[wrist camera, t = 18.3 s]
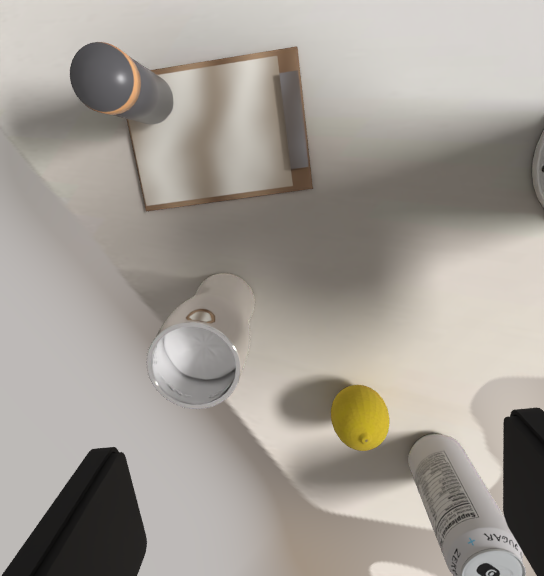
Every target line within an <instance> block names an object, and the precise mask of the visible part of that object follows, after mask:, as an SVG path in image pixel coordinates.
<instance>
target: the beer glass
mask: <svg viewBox="0 0 544 576" xmlns="http://www.w3.org/2000/svg"><path fill="white" fill-rule="evenodd" d="M254 308H255V298H254V294H253V292H252V290H251V288H250V286H249V285H248V284H247V283H246V282H245V281H244V280H243V279H241V278H240V277H238V276H236V275H233V274H229V273H219V274H215V275H212V276H210V277H208V278H207V279H205V280H204V281H203V282H202V283H201V284H200V286H199V287H198V289H197V292H196V295H195V296H193V297H191V298H190V299H188V300H186V301H185V302H183V303H182V304H181V305H179V306H178V307H177V308H176V309H175V310H174V311H173V312H172V313H171V314H170V315H169V317H168V318H167V319H166V321H165V322H164V324H163V325H162V327H161V329H160V331H159V332H158V334H157V336H156V338H155V339H154V340H153V342H152V344H151V346H150V348H149V351H148V355H147V370H148V374H149V377H150V380H151V382H152V384H153V385H154V387H155V388H156V390H157V391H158V392H159V393H160V394H161V395H162V396H163V397H164V398H166V399H167V400H169V401H170V402H172V403H174V404H176V405H179V406H182V407H185V408H192V409H203V408H209V407H212V406H215V405H217V404H219V403H221V402H223V401H224V400H225V399H227V398H228V397H229V396H230V395H231V394H232V392H233V391H234V390H235V388H236V386H237V384H238V382H239V378H240V376H241V373H242V371H243V369H244V366H245V363H246V360H247V357H248V353H249V347H250V327H249V320H250V318H251V316H252V314H253V312H254Z"/></svg>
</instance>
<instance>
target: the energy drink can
mask: <svg viewBox="0 0 544 576" xmlns="http://www.w3.org/2000/svg"><path fill="white" fill-rule="evenodd" d="M408 464H409V468H410V470H411V473H412V475H413V478H414V481H415V483H416V486H417V488H418V491H419V494H420V496H421V499H422V501H423V504H424V507H425V509H426V512H427V514H428V517H429V519H430V522H431V525H432V527H433V530H434V532H435V535H436V538H437V540H438V543H439V545H440V548H441V551H442V553H443V556H444V558H445V561H446V564H447V566H448V568H449V570H450V572H451V573H452V574H453V576H525V574H526V572H525V567H524V565H523V563H522V561H523V552H522V550H521V548H520V546H519V545H518V543H517V541H516V540H515V538H514V536H513V534H512V533H511V531H510V529H509V528H508V526H507V523H506V520H505V517H504V515H503V514H502V513H501V511H500V509H499V507H498V505H497V504H496V502H495V501H494V499H493V497H492V495H491V494H490V492H489V490H488V489H487V487H486V485H485V484H484V482H483V480H482V479H481V477H480V475H479V474H478V472H477V470H476V469H475V467H474V465H473V464H472V462H471V460H470V459H469V457H468V456H467V454H466V452H465V451H464V449H463V447H462V446H461V444H460V443H459V442H458V441H457V440H455V439H453V438H452V437H449V436H446V435H442V434H429V435H426V436H423V437H422V438H420V439H419V440H417V441H416V443H415V444H414V445H413V447H412V449H411V450H410V452H409V456H408Z"/></svg>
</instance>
